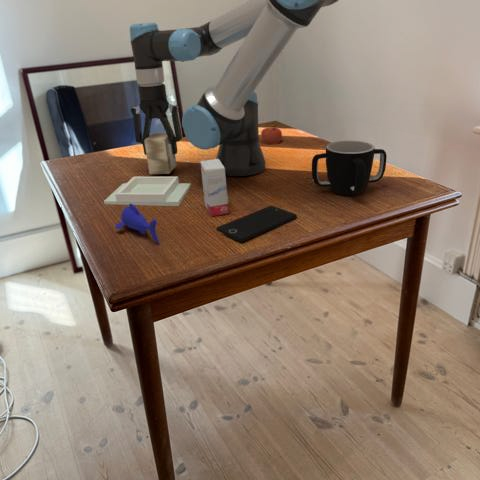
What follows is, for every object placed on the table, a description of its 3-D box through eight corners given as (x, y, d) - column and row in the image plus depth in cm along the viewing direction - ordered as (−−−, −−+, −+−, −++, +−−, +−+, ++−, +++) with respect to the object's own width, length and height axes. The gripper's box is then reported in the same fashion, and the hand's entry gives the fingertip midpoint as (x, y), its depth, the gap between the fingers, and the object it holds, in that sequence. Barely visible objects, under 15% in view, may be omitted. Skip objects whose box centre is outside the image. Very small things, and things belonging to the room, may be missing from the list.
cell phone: (215, 231, 109) (215, 227, 108) (271, 208, 119) (271, 205, 119) (241, 243, 103) (241, 239, 102) (297, 218, 113) (297, 214, 113)
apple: (261, 144, 172) (261, 122, 169) (282, 144, 171) (282, 122, 168) (260, 150, 166) (259, 127, 162) (281, 150, 165) (281, 127, 161)
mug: (340, 176, 137) (342, 135, 132) (390, 188, 127) (395, 144, 121) (304, 192, 127) (305, 148, 122) (356, 206, 117) (359, 159, 111)
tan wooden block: (176, 165, 146) (172, 132, 141) (169, 173, 139) (164, 139, 134) (157, 165, 147) (152, 133, 142) (149, 174, 139) (144, 140, 135)
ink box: (229, 214, 116) (226, 167, 111) (209, 217, 115) (205, 170, 110) (222, 202, 124) (219, 157, 119) (203, 204, 123) (199, 160, 118)
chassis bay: (191, 188, 134) (190, 176, 133) (178, 207, 122) (177, 194, 120) (123, 188, 137) (122, 176, 136) (104, 206, 125) (102, 194, 123)
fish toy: (111, 230, 112) (106, 203, 109) (139, 220, 116) (135, 194, 113) (144, 250, 101) (140, 221, 98) (174, 238, 106) (170, 210, 103)
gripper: (187, 80, 134) (196, 160, 144) (123, 83, 137) (136, 162, 147) (181, 84, 127) (190, 168, 137) (113, 87, 130) (127, 169, 140)
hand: (162, 164), depth 142 cm, fingers closed on tan wooden block, 6 cm apart
